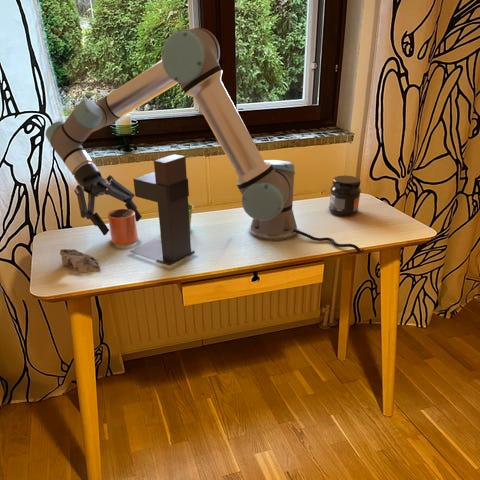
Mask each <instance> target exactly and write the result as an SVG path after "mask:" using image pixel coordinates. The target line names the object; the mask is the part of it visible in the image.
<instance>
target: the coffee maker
mask: <svg viewBox="0 0 480 480" xmlns="http://www.w3.org/2000/svg"><path fill="white" fill-rule="evenodd" d="M153 168H154V169H153V170H154V171H152V172H149V173H146V174H143V175H140V176H137V177H134V178H133V180H132V181H133V187H134V188H133V189H134V195H135V196H134V197H136V198H140V199H143V200H147V201H151V202H154V203H157V211H158V220H159V221H158V223H159V232H160V233H159V234H160V240H158V239H152V240H150V241H148V242H146V243H144V244H141V245H139V246H136V248H133V249H131V250H129V251H128V252H129V253H133V254H135V255H138V256H141V257H144V258H147V259H149V260H153V261H155V262H158V263H160V264H163V265H167V266H169V267H170V266H172V265H173V264H176V263H178V262H180V261H181V260H183V259H185V258H187V257H189V256H190V255H192V254H195V250H193V249H192V244H191V226H190V224H189V208H188V203H189V197H190V189H189V188H190V187H189V178H188V176H187V159H186V155H181V154H175V153H174V154H171V155H167V156H164V157H161V158H158V159H155V160H153Z"/></svg>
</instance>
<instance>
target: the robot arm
mask: <svg viewBox="0 0 480 480" xmlns="http://www.w3.org/2000/svg"><path fill="white" fill-rule="evenodd" d="M220 59H221V48H220V44H219V40H218V39H217V38H216V36H215V35H214V34H213V33H212V32H211V31H209V30H208V29H206V28H202V27H194V28H188V29H187V28H186V29H184V28H182V29H178V30H177V31H176V32H173V33H171V34H170V35H169V36H168V37H167V39H166V40H165V41H164V43H163V45H162V49H161V60H160V61H158V62H157V63H155V64H153V65H152V66H150V67H149V68H147V69H146V70H144V71H143V72H140V73H139V74H137V76H135V77H133V78H132V79H130V80H128V81H127V82H125V83H123V84H122V85H121V86H119V87H118V88H116V89H114V90H113V91H111V92H109V93H107V95H104V96H103V97H101V98H100V99H99V100H97V101H92V100H90V99H86V98H85V99H81V101H80V102H79V103H78V104H76V105H75V106H74V107H73V110H72V111H71V113H70V114H69V115H68V117H67V118H66V120H65V121H63V120H58V121H55V122H53V123H51V125H48V127H47V128H46V130H45V137H46V139H47V141H48V142H49V144H50V147H51V148H52V149H53V150H54V151H55V152H56V154H57V155H58V156H59V158H60V159H61V160H62V162H63V163H64V166H66V168H67V169H68V171H69V172H70V174H71V176H73V178H74V180H75V181H76V182H77V185H76V186H75V188H74V191H73V192H74V193H75V195H76V197H77V201H78V206H79V207H78V209H79V213H80V217H81V218H82V219H86V220H90V221H91V222H92V224H93V225H94V226H95V227H97V228H98V229H99V231H100V232H101V233H102V235H103V236H106V235H107V234H108V233H109V232H110V228H109V227H108V226H107V225H106V224H105V221H104V220H103V219H102V218H101V216H100V215H99V213H98V212H95V202H96V201H95V200H96V198H98V197H99V196H104V195H106V196H110V197H112V198H114V199H117V200H119V201H121V202H123V203H125V204H124V206H125V208H126V209H130V210H133V211H134V212H135V217H136V223H137V222H140V220H141V219H142V218H143V216H142V214H141V213H140V211H139V210H138V207H137V205H136V203H135V202H134V201H133V199H134V197H136V196H135V193H134V192H132V191H130V189H128V188H127V187H125V186H124V185H122V183H120V182H118V181H117V180H116V179H115V177H114V176H112V175H111V174H108V176H107V177H103V176H102V174H101V171H100V170H99V168H98V166H97V165H96V164H95V163H94V161H93V159H92V158H91V156H90V155H89V154H88V152H87V151H86V150H85V148H84V147H83V144H84V142H85V141H86V140H87V139H88V138H89V136H90V135H91V134H92V133H94V132H96V131H99V130H101V129H104V128H105V127H107V126H111V125H113V124H115V123H116V122H117V121H118V120H120V119H121V118H123V117H124V116H127V115H128V114H130V113H131V112H133V111H135V110H137V109H138V108H140V107H141V106H142V105H144V104H146V103H148V102H149V101H152V100H153V99H154V98H156V97H158V96H160V95H161V94H162V93H165V92H166V91H168V90H169V89H171V88H172V87H174V86H176V85H178V84H179V85H180V88H181V89H182V91H183V92H184V94H185V95H186V96H189V97H191V98H193V99H194V101H195V102H196V105H197V106H198V108H199V109H200V111H201V113H202V115H203V117H204V118H205V120H206V122H207V124H208V126H209V127H210V129H211V131H212V133H213V135H214V136H215V139H216V140H217V142H218V143H219V146H220V147H221V149H222V150H223V153H224V154H225V156H226V158H227V159H228V161H229V163H230V165H231V167H232V168H233V170H234V172H235V174H236V176H237V178H236V183H235V185H236V186H237V188H238V190H239V192H240V194H241V195H242V196H241V204H242V209H243V210H244V212H245V213H246V214H247V216H248V217H250V218H252V221H251V223H250V233H251V234H252V235H253V236H254V237H256V238H258V239H261V240H266V241H282V240H287V239H291V238H293V237H294V236H295V235H296V234H298V235H301V236H303V237H306V238H308V239H309V240H312V241H316V242H325V241H326V242H327V241H328V242H331V244H332V245H333V246H334V247H337V248H353V249H355V250H356V251H357V252H360V253H362V250H361V248H360V247H359V246H358V245H356V244H353V243H339V242H338V243H337V242H336V241H335V239H334V238H332V237H316V236H314V235H311V234H309V233H306V232H304V231H301V230H298V226H297V222H296V219H295V214H294V211H293V202H294V184H295V183H294V182H295V175H296V172H295V165H294V163H293V162H291V161H287V160H281V159H265V160H264V158H263V157H262V154H261V153H260V150H259V149H258V147H257V145H256V144H255V141H254V140H253V138H252V135H251V134H250V132H249V130H248V129H247V126H246V125H245V123H244V121H243V118H241V115H240V113H239V112H238V110H237V108H236V105H235V104H234V102H233V100H232V99H231V96H230V94H229V93H228V91H227V89H226V87H225V86H224V83H223V81H222V75H223V69H222V67H221V66H220V63H219V60H220ZM85 193H86V194H88V195H87V201H86V196H85Z"/></svg>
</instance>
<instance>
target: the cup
mask: <svg viewBox="0 0 480 480" xmlns="http://www.w3.org/2000/svg"><path fill="white" fill-rule="evenodd" d="M107 219H108V228H109V232H110V239H111V243H112V244H114V245H119V246H127V245H131V244H134V243H136V242H137V241H138V240H139V236H138V234H139V233H138V227H137V222H136V217H135V212H134V211H133V210H130V209H127V208H119V209H114V210H111V211H109V212H108V213H107Z"/></svg>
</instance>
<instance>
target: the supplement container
mask: <svg viewBox="0 0 480 480" xmlns="http://www.w3.org/2000/svg"><path fill="white" fill-rule="evenodd" d="M361 192H362V189H361V179H360V178H359V177H358V176H354V175H347V174H346V175H337V176H334V177H333V178H332V185H331V187H330V195H329V206H328V210H329V212H330V213H331V214H333V215H334V216H338V217H352V216H354V215H356V214H357V213H358V212H359V206H360V204H359V203H360V197H361Z"/></svg>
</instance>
